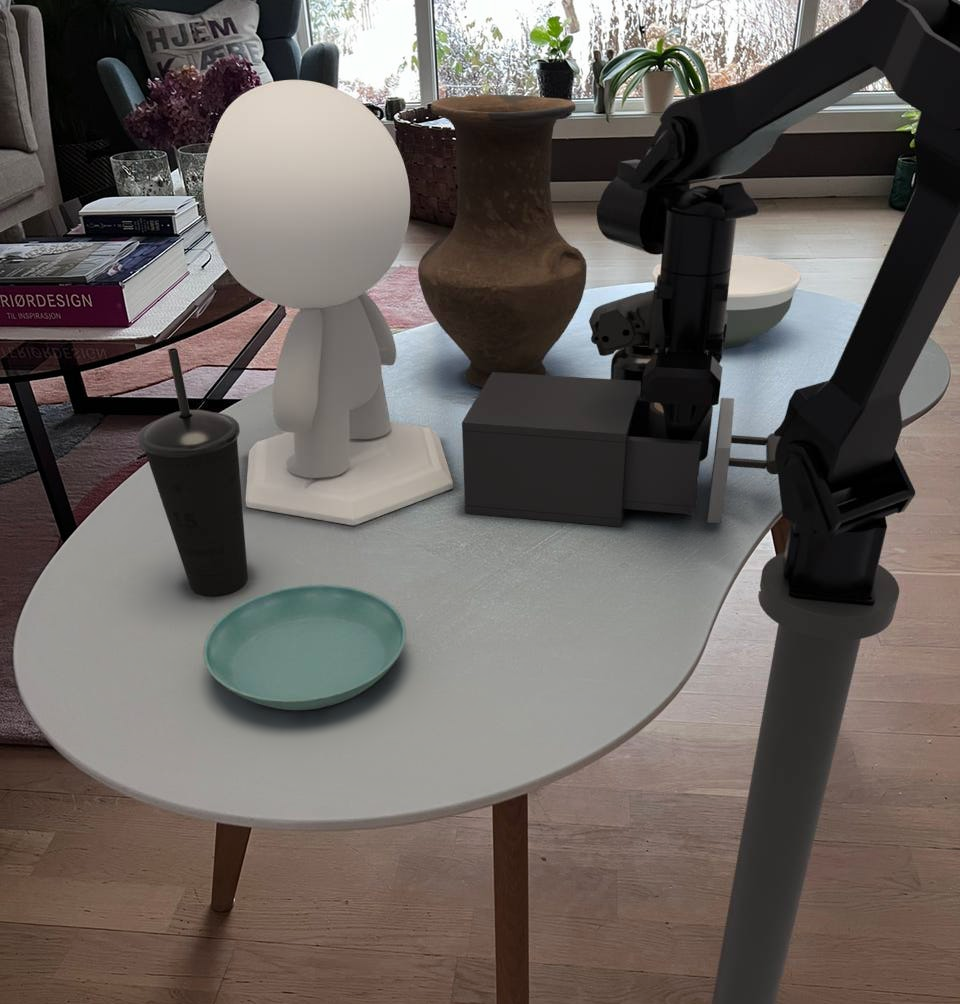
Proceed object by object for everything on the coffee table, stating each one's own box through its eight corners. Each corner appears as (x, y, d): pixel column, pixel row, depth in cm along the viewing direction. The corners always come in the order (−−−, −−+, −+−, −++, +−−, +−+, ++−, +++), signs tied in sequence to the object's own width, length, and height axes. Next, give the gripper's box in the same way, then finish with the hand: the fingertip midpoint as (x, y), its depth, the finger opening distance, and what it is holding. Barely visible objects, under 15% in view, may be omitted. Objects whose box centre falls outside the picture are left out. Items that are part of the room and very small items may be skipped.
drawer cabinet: (635, 467, 103) (641, 380, 98) (620, 527, 93) (626, 433, 88) (493, 457, 106) (492, 371, 100) (464, 513, 96) (461, 422, 90)
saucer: (188, 731, 70) (181, 701, 69) (230, 613, 82) (225, 585, 81) (402, 727, 70) (399, 697, 69) (413, 609, 82) (411, 581, 81)
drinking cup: (186, 558, 90) (137, 333, 78) (272, 558, 90) (235, 332, 78) (161, 605, 84) (104, 368, 72) (253, 605, 83) (211, 367, 72)
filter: (709, 442, 96) (714, 394, 93) (706, 467, 91) (711, 418, 89) (649, 437, 97) (652, 390, 94) (643, 462, 92) (646, 414, 90)
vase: (615, 381, 122) (631, 100, 105) (482, 420, 113) (475, 121, 96) (520, 339, 135) (520, 84, 118) (395, 371, 127) (375, 101, 109)
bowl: (632, 318, 142) (636, 256, 137) (763, 310, 143) (772, 249, 138) (667, 365, 126) (673, 298, 122) (813, 356, 128) (825, 289, 123)
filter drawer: (774, 472, 99) (785, 401, 95) (775, 528, 90) (787, 452, 86) (588, 458, 103) (591, 389, 98) (571, 511, 94) (573, 436, 89)
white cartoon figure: (297, 421, 114) (250, 65, 94) (489, 448, 107) (481, 69, 87) (195, 499, 99) (113, 94, 79) (410, 536, 92) (380, 101, 72)
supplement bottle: (679, 429, 110) (690, 318, 103) (661, 454, 105) (671, 339, 98) (619, 420, 113) (625, 311, 106) (598, 444, 108) (603, 331, 101)
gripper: (612, 235, 94) (604, 398, 103) (582, 295, 79) (576, 479, 88) (736, 239, 91) (717, 405, 100) (730, 302, 77) (708, 490, 85)
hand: (678, 441), depth 94 cm, fingers closed on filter, 5 cm apart
